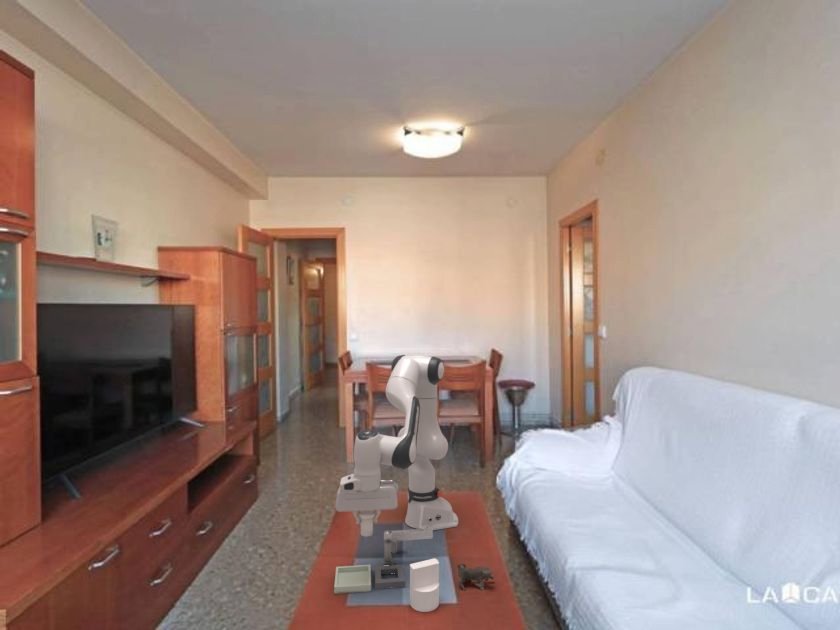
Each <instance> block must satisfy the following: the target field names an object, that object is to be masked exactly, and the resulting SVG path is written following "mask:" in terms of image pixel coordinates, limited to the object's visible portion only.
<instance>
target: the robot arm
mask: <svg viewBox="0 0 840 630" xmlns="http://www.w3.org/2000/svg"><path fill="white" fill-rule="evenodd" d="M390 369H391V370H390V371H391V373H390V376H389V377H388V380H387V384H386V387H385V396H386V399H387V401H388V402H389V403H390V404H391V405H392V406H393V407H395V408H396V409H398V410H399V411H401V412H403V413H404V414H405V420H404V427H402V428H401V429H400V430H399V432H398V433H397V436H391V435H387V434H381V433H380V432H379V430H376V429H372V428H368V429H363V430H361V431H359V432H358V433H356V437H355V442H354V449H353V461H354V469H353V473H351V474H348V475H345V476H343V477H341V479H340V482H339V487H338V489H337V493H336V498H335V499H336V501H335V510H336V511H337V513H338V512H339V513H340V512H352V515H353V516H354V518H355V520H356V521H355V524H356V525H359V524H360V525H361V518H360V517H359V514H358V512H360V511H365V510H374V511H375V516H374V517H373V524H378V518H379V517H380V515H381V513H382V512H381V511H383V510H396V509H397V508H398V502H399V501H398V495H397V493H398V492H399V483H398V482H397V481H396V480H395V479H389V480H388V479H381V476H382V475H381V474H382V473H381V470H382V469H381V466H380V465H385V466H388V467H389V466H391V467H394V468H398V469H401V470H406V469H408V487H407V502H408V503H407V511H406V515H405V519H404V522H405V524H406V525H407V526H409V527H411V528H412V529H426V528H432V529H433V531H438V530H444V529H450V528H456V527H458V526H459V517H458V515H457V513H455V512H454V510H453V507H452V505H451V503H449V501H448V500H446V499H445V498H444V497H442V496H443V492H442V491H441V490H440V488H439V487H438V486H436V470H435V467H434V465H433V464H432V463H431V461H430V460H437V461H440V460H441V459H444V458H445V457H446V455H447V453H448V451H449V442H448V439H447V438H446V436H444V434H443V433H442V430H441V428H440V424H439V421H438V414H437V413H438V408H437V407H438V406H437V405H438V404H437V403H438V387H437V386H438V383H439V382H440V381H442V380H443V377H444V373H445V365H444V362H443V360H442V359H441V358H440V357H436V356H429V355H428V356H427V355H421V354H417V355H416V354H415V355H413V354H412V355H405V354H400V355H396V357H395V358H393V360H392V363H391V368H390Z"/></svg>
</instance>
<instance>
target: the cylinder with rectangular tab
mask: <svg viewBox="0 0 840 630" xmlns="http://www.w3.org/2000/svg"><path fill="white" fill-rule="evenodd" d="M409 604H410V606H411V609H413V610H415V611H417V612H422V613H429V612H432V611H434V610H436V609H437V608H438V607H439V606H440V562H439V559H437V558H435V557H434V558H431V559H430V558H429V559H426V560H422V561H418V562H414V563H410V564H409Z"/></svg>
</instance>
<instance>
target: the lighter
mask: <svg viewBox="0 0 840 630" xmlns="http://www.w3.org/2000/svg"><path fill="white" fill-rule="evenodd" d="M398 544H401V541H391V552H396V551H397V552H398ZM397 552H396V553H397Z"/></svg>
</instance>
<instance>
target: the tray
mask: <svg viewBox="0 0 840 630" xmlns="http://www.w3.org/2000/svg"><path fill="white" fill-rule="evenodd" d="M371 571H372V569H371V564H360V565H359V564H357V565H343V566H335V577H334V584H333V585H334V586H333V588H334V589H333V594H334V595H343V594H355V593H368V592H367V591H371V592H372V572H371Z"/></svg>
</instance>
